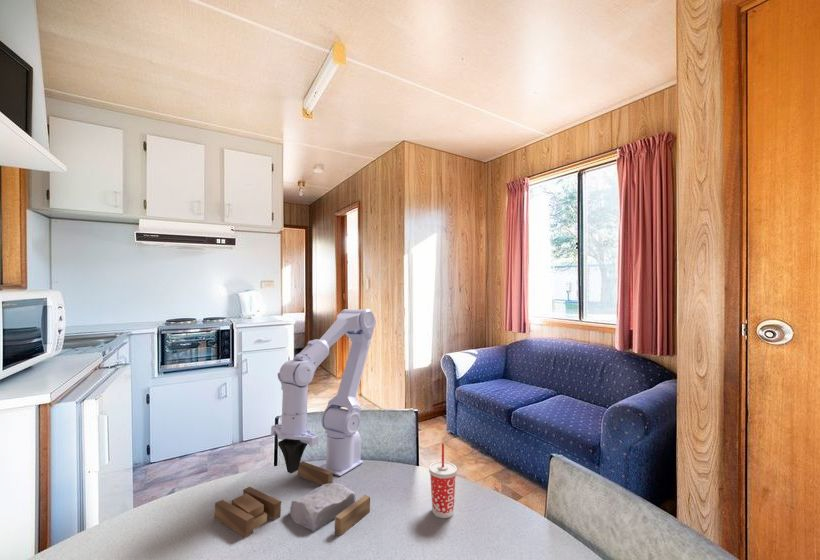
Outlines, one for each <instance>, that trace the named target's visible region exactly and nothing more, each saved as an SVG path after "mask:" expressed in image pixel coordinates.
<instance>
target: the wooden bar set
mask: <svg viewBox="0 0 820 560" xmlns="http://www.w3.org/2000/svg"><path fill="white" fill-rule="evenodd" d="M333 475H334V474H333V472H331V471H328V470H326V469H323V468H320V466H317V465H314V464H311V463H308V462H305V461H300V464H299V468H298V470H297V476H298V477H300V478H303V479H306V480H307V481H311V482H313V483H316V484H318V485H320V486H322V485H324V484H328V483H329V484H331V483H333V477H334V476H333ZM242 490H243V491H242V495H244V494H248V495H250V496H251V497H253V498H254V499H256V500H257V501H259V502H261V503H262V504H264V512H265V513H267V519H268V518H269V519H270V520H272V521H276V520H277V519H280V518H281V512H282V509H281V508H282V501H281V500H279V499H276V498H275V497H273V496H270V495H269V494H266V493H264V492H262V491H260V490H258V489H256V488H254V487H251V486H247V488H243V489H242ZM214 504H215V505H214V520H216V521H218V522H219V523H221V524H223V525H225V526H226V527H228V528H229V529H230V530H232V531H234V532H235V533H237V534H239V535H240V536H242V537H244V538H245V539H246V538H249V536H251V535H253V534H254V530H253V528H254V516H252V515H250V514H248V513H246V512H245V511H243V510H241V509H239V508H237V507H235V506H234V505H232V504H231V503H230V502H228V501H226V500H224V499H220V500H219V501H215V503H214ZM370 512H371V496H370V495H369V496H368V495H366V494H364V495H362V496H361V497H359V498H358V499H357V500H355V502H354V503H353V504H352V505H350V506H349V507H348V508H346V509H345V510H343V511H342V512H341V513H339V514H338V515H337V516H335V519H334V534H336V535H338V536H342V535H343V534H345V533H346V532H348V531H349V529H351V528H353V526H355V525H356V524H357V523H358V522H359V521H360V520H362V519H363V518H365V516H367V515H368V514H369V513H370Z"/></svg>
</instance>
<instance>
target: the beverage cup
mask: <svg viewBox="0 0 820 560" xmlns="http://www.w3.org/2000/svg"><path fill="white" fill-rule="evenodd" d="M428 472H429V476H430V491H431V507H432V508H431V509H432V511H431V512H432V514H433V515H434V516H435V517H437V518H440V519H441V518H442V519H447V518H451V517H453V515H454V512H455V493H456V477H457V476H456V475H457V474H458V468H457V466H456V465H455V464H454V463H452V462H448V461H445V443H443V442H442V443H441V461H435V462H432V463H430V464H429V467H428Z"/></svg>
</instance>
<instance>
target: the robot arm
mask: <svg viewBox="0 0 820 560" xmlns="http://www.w3.org/2000/svg"><path fill="white" fill-rule="evenodd" d="M376 323H377V320H376V317H375V315H374V312H373V311H372V310H371V309H369V308H365V309H348V308H345V309H342V310H341V311H340V313H338V314H337V315H336V320H335V321H334V322H333V323H332V324H331V326H330V327H329V328H328V329H327V330H326V332H325V333H324V334H322V336H321V337H319V339H318V338H316V339H312V340H308V342H307V345H306V346H304V348H302V350H301V351H300V352H299V353H297V354H295V356H294V357H293V359H290V360H287V361H286V362H284V363H283V364H282V365H281V367H280V369H279V372H278V373H277V379H278V380H279V382H280V384H281V390H282V399H281V400H282V401H281V403H282V404H281V405H282V406H281V407H282V408H281V424H280V423H277V424H274V425H271V428H270V432H271V433H270V434H271V436H275V435H277V439H278V440H280V441H278V442H277V443H278V444H277V445H278V448H279V449H280V451H281V454H282V456H283V459H284V462H285V466H286V468H285V469H286V471H287V473H288V474H293V473H295V472H298V468H299V464H300V462H301V460H302V457H303V454H304V451H305V450H306V448H307V447H310V448H313V447H315V446H317V445H319V435H318V434H316V433H314V432H313V431H312V430H310V429H309V428H307V427H308V426H307V425H308V423H307V422H308V395H309V394H308V393H309V392H308V391H309V390H308V388H309V384H310V383H311V382H312V381H313V379H314V375H315V372H316V371H317V368H318V367H319V366H320V365H321V364H322V362H324V361H325V359H326V358H327V357H328V356H329V355H330V348H331V347H332V346H333V345H334V344H335V343H336V342H338V341H339V340H340V338H342V337H343V336H344V335H346V336H347V337H348V338H349V339H350V341H351V345H350V347H349V348H350V349H349V352H348V355H347V360H346V363H345V366H344V370H343V373H342V376H341V381H340V384H339V387H338V390H337V394H336V395H335V396H334V397H332V398H331V399H329V400H328V403H327V405H326V408H325V409H324V411H323V413H322V415H321V419H320V420H321V421H320V423H321V427H322V428H323V429H324V430H325V434H326V452H325V453H326V454H325V455H326V459H325V463H324V464H321V465H320V466H319V467H320V468H323V469H326V470H328V471H331V472H333V475H335V476H338V477H341V476H343V475H345V474H347V473H348V472H350V471H351V470H354V469H355V468H357V467H358V466H359V465H362V464H363V463H364V461H363V460H362V459H361V456H362V455H361V454H362V453H361V452H362V449H361V447H362V438H361V437H362V436H361V435H360V432H359V431H358V430H359V427H360V424H361V411H362V407H361V405H360V404H359V402H358V401H357V399H356V398H357V395H358V391H359V387H360V383H361V380H362V375H363V371H364V368H365V364H366V360H367V357H368V353H369V350H370V346H371V342H372V337H373V333H374V331H375V330H374V329H375V326H376ZM345 408H346V409H345Z"/></svg>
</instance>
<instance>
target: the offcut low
mask: <svg viewBox="0 0 820 560" xmlns="http://www.w3.org/2000/svg"><path fill="white" fill-rule="evenodd" d="M267 522H268V517H267V513H265V512H264V514H263V515H261V516H259V517H257V518H255V519H254V528H253V531H254V530H255V529H257V528H258V527H260V526H262V525H263V524H265V523H267Z"/></svg>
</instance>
